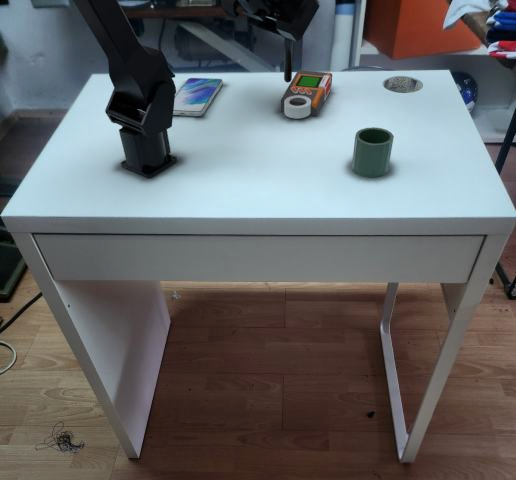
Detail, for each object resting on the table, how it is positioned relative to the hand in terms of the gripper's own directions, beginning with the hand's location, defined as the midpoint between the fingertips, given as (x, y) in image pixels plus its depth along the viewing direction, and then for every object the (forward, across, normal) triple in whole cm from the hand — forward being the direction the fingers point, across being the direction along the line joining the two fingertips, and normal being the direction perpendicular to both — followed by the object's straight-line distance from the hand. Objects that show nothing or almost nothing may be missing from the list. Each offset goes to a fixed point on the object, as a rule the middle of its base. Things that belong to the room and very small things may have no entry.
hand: (294, 37), depth 87 cm
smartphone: (-3, +11, +17) cm, 21 cm away
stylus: (+4, 0, +6) cm, 7 cm away
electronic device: (+7, -4, +7) cm, 11 cm away
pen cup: (0, -28, +13) cm, 31 cm away
